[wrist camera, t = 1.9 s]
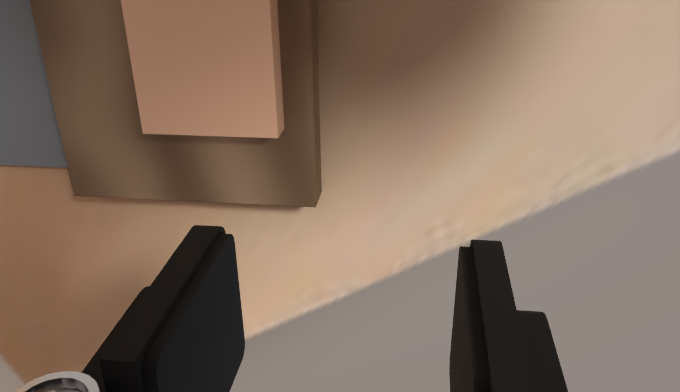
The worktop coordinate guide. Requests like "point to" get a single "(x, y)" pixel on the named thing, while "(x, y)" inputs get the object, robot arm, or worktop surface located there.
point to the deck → (174, 150)
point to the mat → (25, 94)
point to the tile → (206, 66)
